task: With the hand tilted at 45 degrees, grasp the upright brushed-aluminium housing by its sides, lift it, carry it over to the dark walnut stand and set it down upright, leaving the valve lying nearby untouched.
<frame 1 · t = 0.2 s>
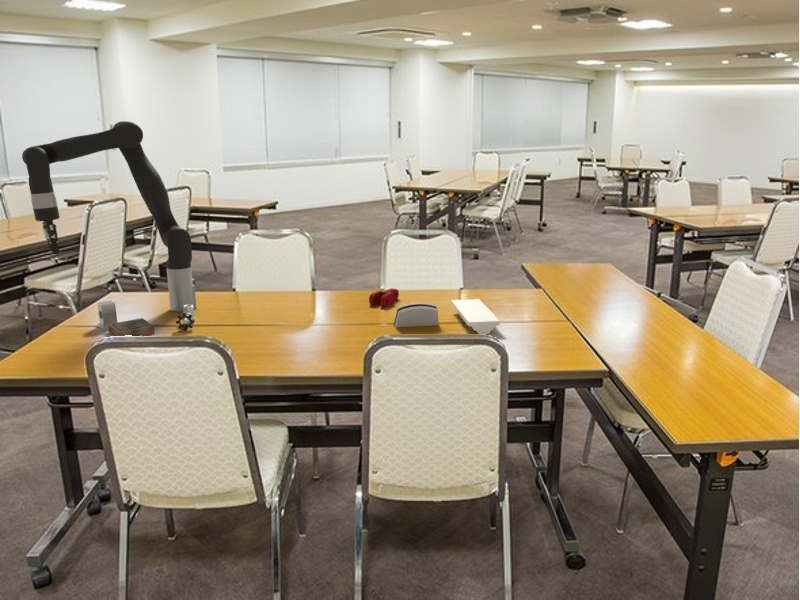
hand: (54, 252, 226), 28 cm above the table, tool pointing down, fingers open, 8 cm apart
grey napkin holder: (416, 326, 239), on the table
shelf: (473, 323, 242), on the table
valve: (188, 326, 238), on the table
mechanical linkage: (386, 303, 269), on the table
stand: (131, 333, 229), on the table
housing: (109, 326, 236), on the table
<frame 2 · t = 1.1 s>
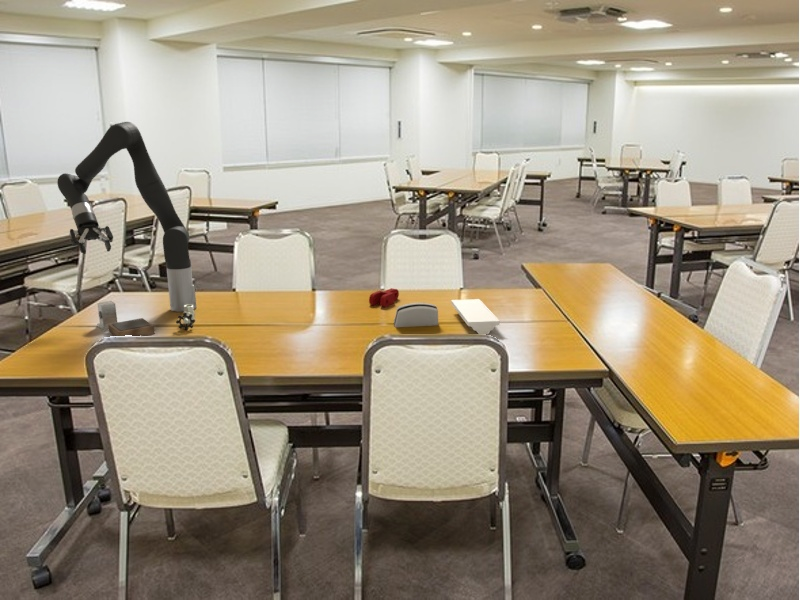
hand: (96, 251, 239), 26 cm above the table, tool tilted 45°, fingers open, 8 cm apart
nothing on the table moved.
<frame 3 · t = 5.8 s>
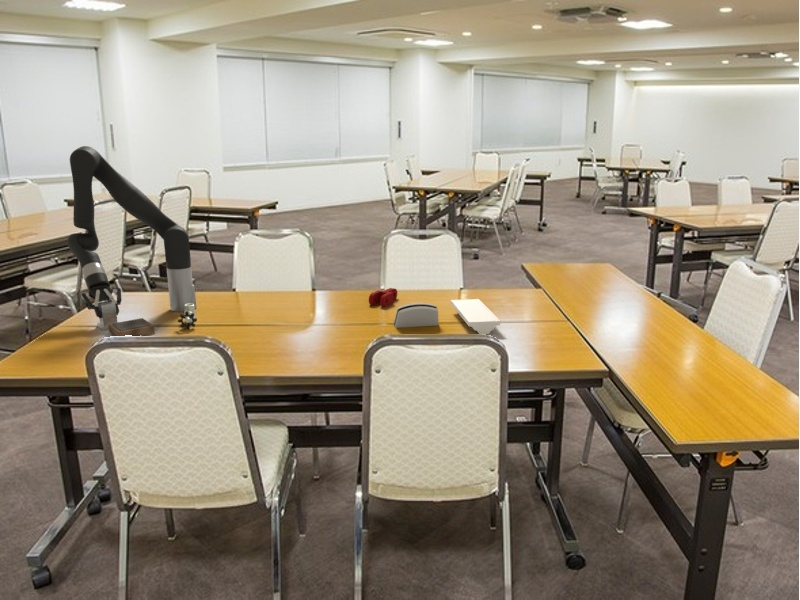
hand: (108, 315, 233), 5 cm above the table, tool tilted 45°, fingers closed on housing, 5 cm apart
valve: (189, 325, 239), on the table
housing: (109, 326, 236), on the table, touching gripper
everything else where it was.
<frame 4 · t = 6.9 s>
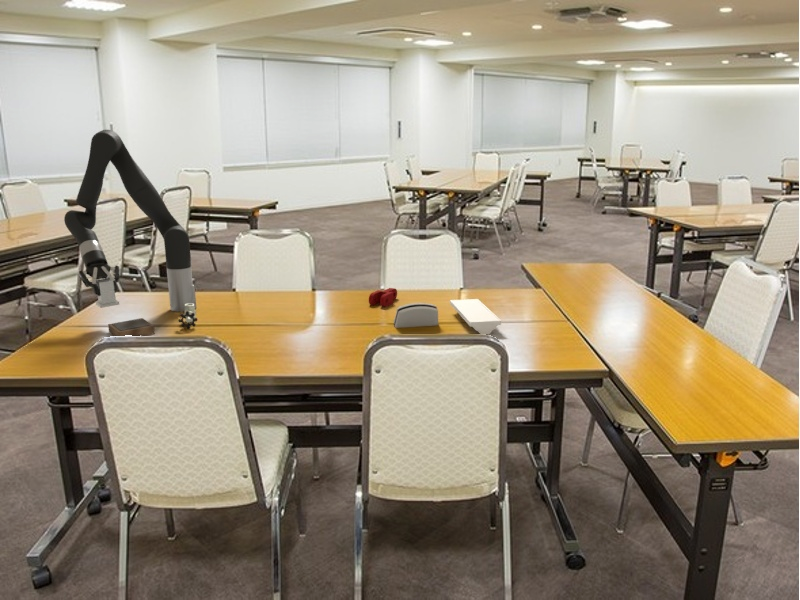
hand: (106, 292, 232), 13 cm above the table, tool tilted 45°, fingers closed on housing, 5 cm apart
housing: (107, 304, 234), point 8 cm above the table, touching gripper
everything else where it was.
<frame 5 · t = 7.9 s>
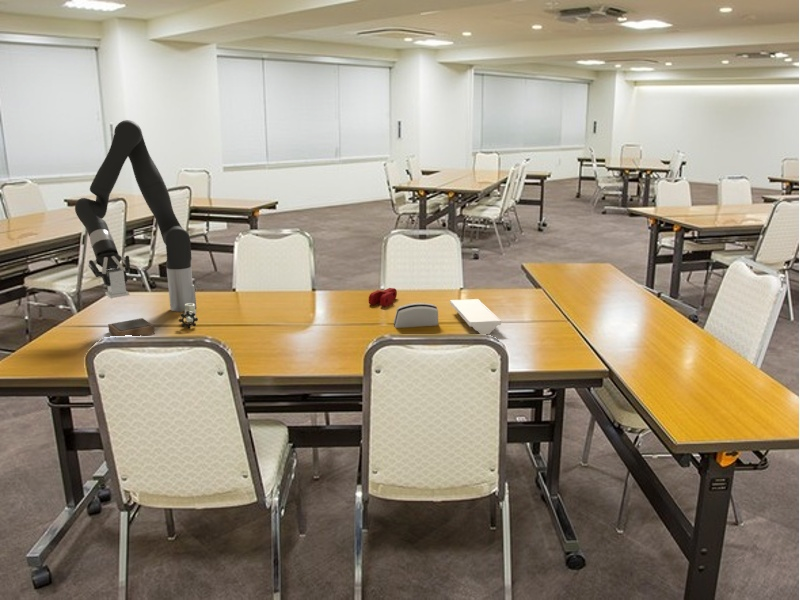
hand: (117, 283, 226), 18 cm above the table, tool tilted 45°, fingers closed on housing, 5 cm apart
housing: (117, 294, 229), point 13 cm above the table, touching gripper
everything else where it was.
when the fingers open (9 cm above the table, at t = 10.5 s): housing drops 1 cm, resting on stand.
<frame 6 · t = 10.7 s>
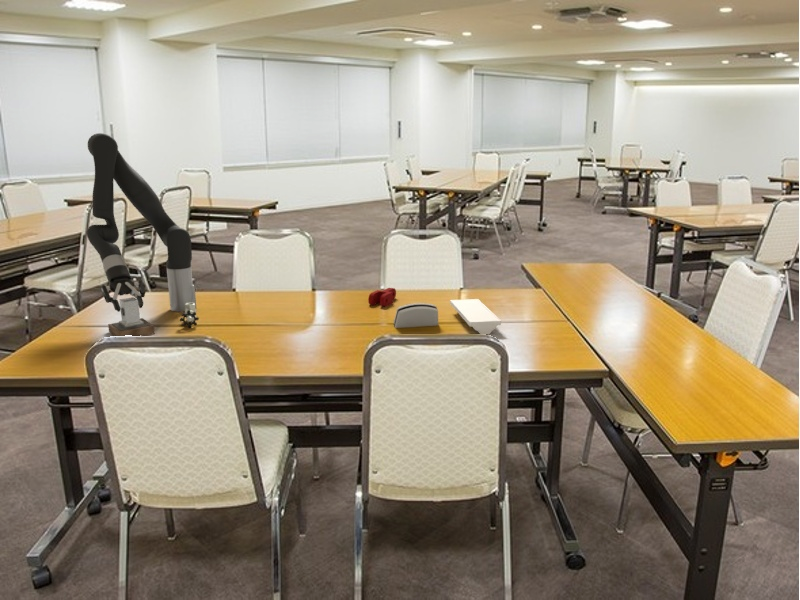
hand: (130, 308, 225), 9 cm above the table, tool tilted 45°, fingers open, 7 cm apart
housing: (131, 324, 228), point 3 cm above the table, touching stand
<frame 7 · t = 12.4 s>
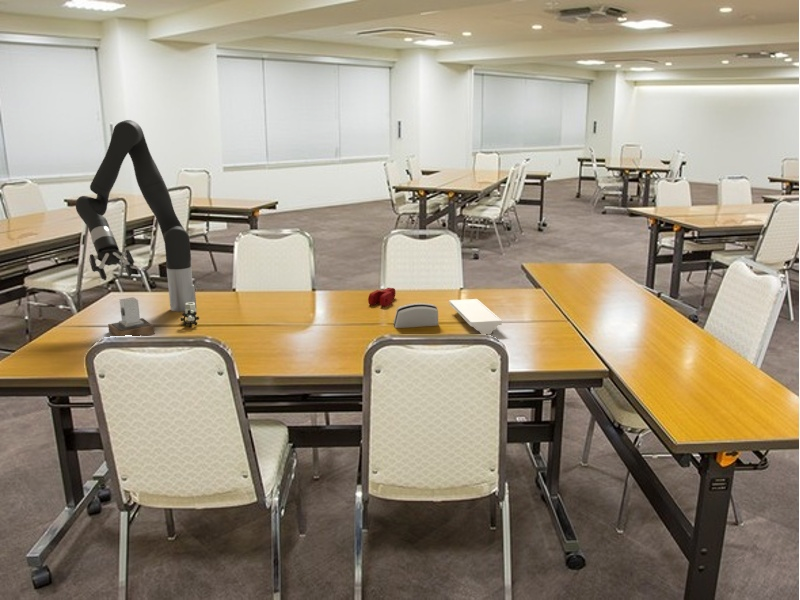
hand: (117, 277, 231), 19 cm above the table, tool tilted 45°, fingers open, 8 cm apart
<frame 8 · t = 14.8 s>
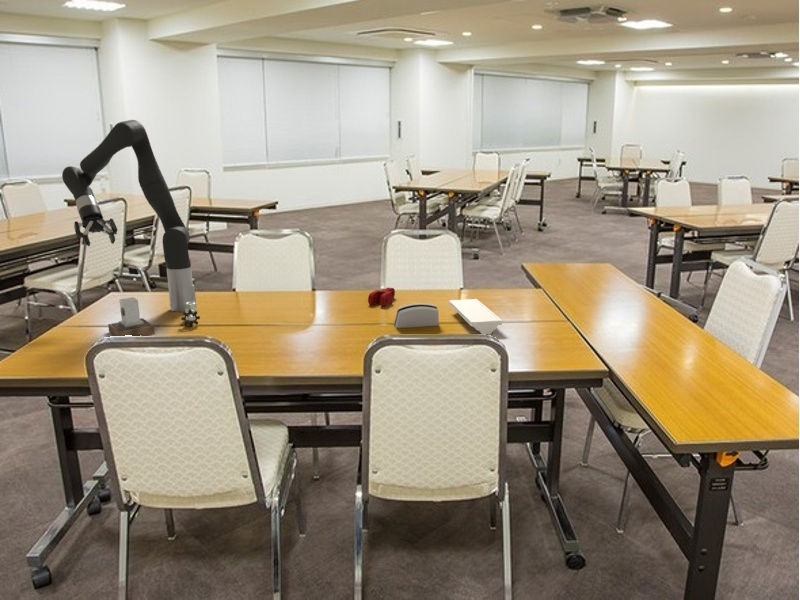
hand: (101, 243, 240), 29 cm above the table, tool tilted 45°, fingers open, 8 cm apart
at the end: housing inside the target area on the stand (0.2 cm from its centre), point 3.2 cm above the stand's base; housing tilted 0°; the gripper is holding nothing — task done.
